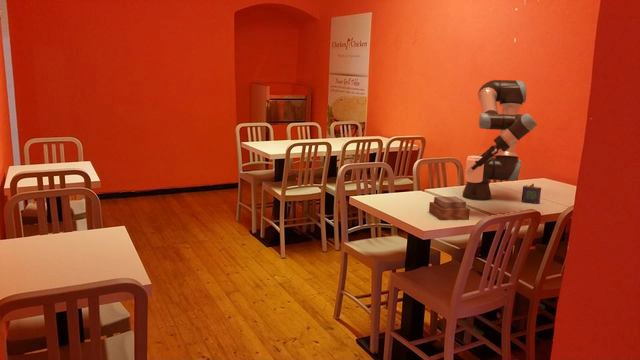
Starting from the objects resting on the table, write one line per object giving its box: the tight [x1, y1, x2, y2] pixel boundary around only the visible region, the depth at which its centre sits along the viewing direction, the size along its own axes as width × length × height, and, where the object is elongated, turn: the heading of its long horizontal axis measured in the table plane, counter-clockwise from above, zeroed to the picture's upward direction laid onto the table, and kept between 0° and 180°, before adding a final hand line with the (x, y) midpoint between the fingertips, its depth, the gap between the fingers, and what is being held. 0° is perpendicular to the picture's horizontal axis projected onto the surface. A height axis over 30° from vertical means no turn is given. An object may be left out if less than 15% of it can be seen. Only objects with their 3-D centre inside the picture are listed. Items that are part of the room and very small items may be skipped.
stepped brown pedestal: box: [428, 195, 471, 221], centre depth 247 cm, size 14×14×8 cm
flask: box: [521, 182, 542, 205], centre depth 279 cm, size 9×3×11 cm, turn 74°
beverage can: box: [464, 155, 484, 183], centre depth 250 cm, size 8×8×12 cm
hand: (467, 171), depth 252 cm, fingers closed on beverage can, 8 cm apart
